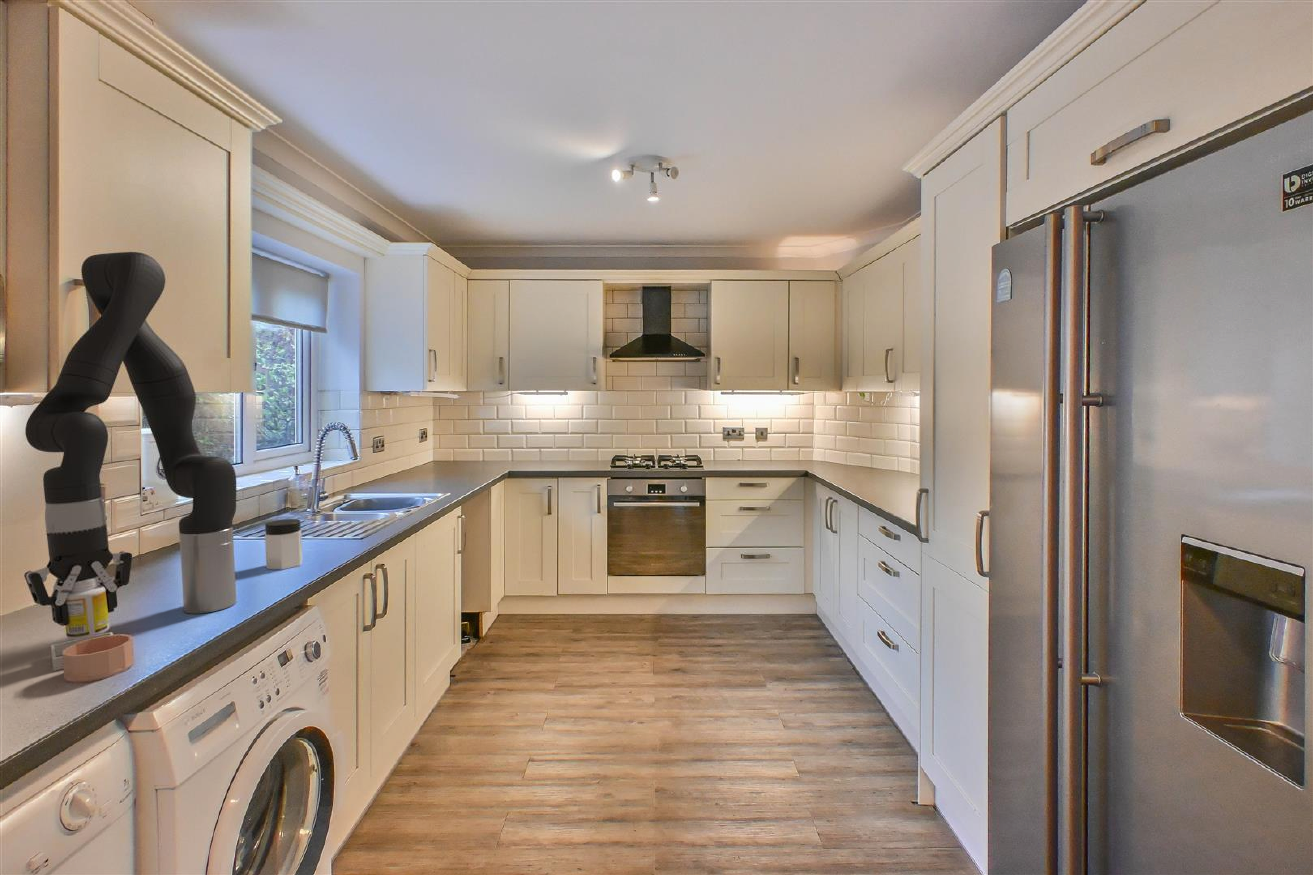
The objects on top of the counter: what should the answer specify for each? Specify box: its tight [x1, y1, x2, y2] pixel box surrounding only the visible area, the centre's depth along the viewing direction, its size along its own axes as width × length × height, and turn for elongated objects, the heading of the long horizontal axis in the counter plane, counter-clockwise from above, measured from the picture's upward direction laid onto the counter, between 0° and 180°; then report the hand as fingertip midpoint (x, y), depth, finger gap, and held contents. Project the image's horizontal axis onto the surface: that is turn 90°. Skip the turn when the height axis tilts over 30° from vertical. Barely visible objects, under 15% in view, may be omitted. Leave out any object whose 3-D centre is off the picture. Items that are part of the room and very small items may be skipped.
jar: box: [264, 518, 303, 571], centre depth 159 cm, size 9×8×12 cm
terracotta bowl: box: [62, 633, 135, 684], centre depth 98 cm, size 8×8×4 cm
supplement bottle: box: [64, 577, 110, 641], centre depth 104 cm, size 6×6×10 cm
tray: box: [50, 631, 114, 672], centre depth 104 cm, size 8×8×2 cm
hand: (86, 617), depth 104 cm, fingers closed on supplement bottle, 5 cm apart
